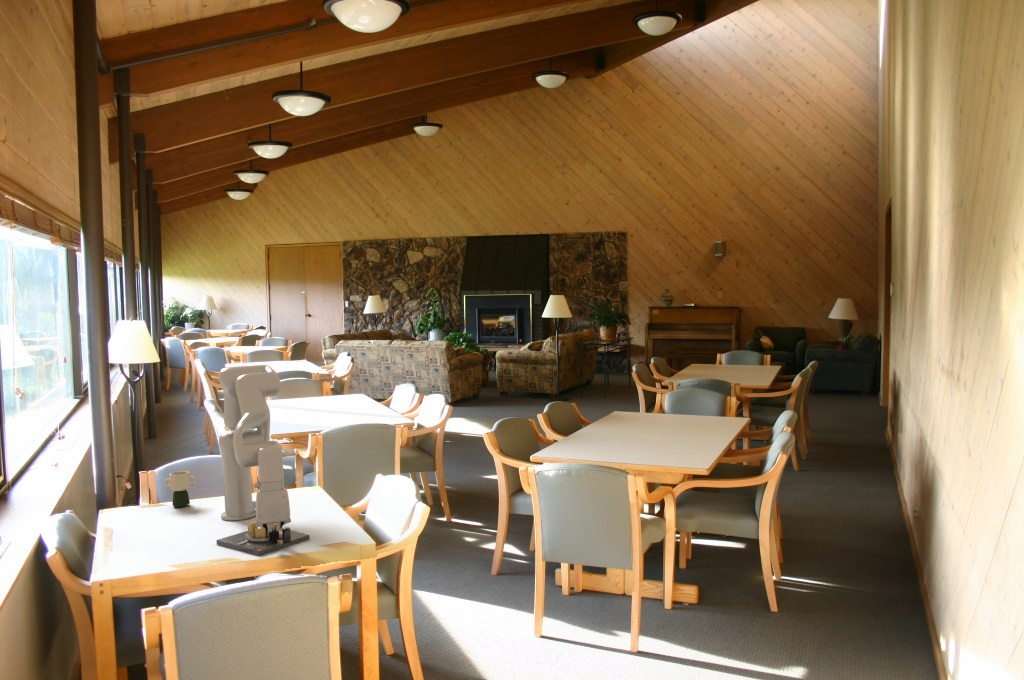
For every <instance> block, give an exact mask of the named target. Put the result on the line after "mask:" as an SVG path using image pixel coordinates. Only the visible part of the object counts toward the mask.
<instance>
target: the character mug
mask: <svg viewBox="0 0 1024 680" xmlns="http://www.w3.org/2000/svg"><path fill="white" fill-rule="evenodd" d="M190 480H191V481H192V482H191V481H190ZM168 482H169V483H168ZM194 485H196V477H195V476H193V475H192V476H191V475H190V471H187V470H179V471H178V470H177V471H173V472H171V473H169V478H164V487H165V488H170V490H171V491H173V494H172V506H173V507H176V508H177V507H178V508H179V507H186V506H187V505H190V504H191V501H190V497H189V493H188V489H190V487H191V486H194Z"/></svg>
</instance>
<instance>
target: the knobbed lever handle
mask: <svg viewBox="0 0 1024 680" xmlns="http://www.w3.org/2000/svg"><path fill="white" fill-rule="evenodd" d="M254 518H255V520H254V521H253V522H248V525H247V531H248V535H249V536H251V537H255V538H261V537H266V536H267V537H269V532H268V530H266V529H265V528H264V527H257V526H256V525H255V524H256V517H254ZM275 524H276V523H271V527H272V528H273V531H274V528H275ZM291 529H292V528H291V527H288V526H287V527H284V525H283V526H282V527H281V529H280V530H279V537H280V538H282V540H283V543H290V542H291V531H292V530H291Z"/></svg>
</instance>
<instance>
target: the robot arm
mask: <svg viewBox="0 0 1024 680" xmlns="http://www.w3.org/2000/svg"><path fill="white" fill-rule="evenodd" d="M218 381H219V384H220V388H222V390H223V397H224V398H223V399H224V400H223V423H224V426H225V427H226V428H227V429H228V430H227V431H224V432H223V433H221V434H220V436H219V437H218V447H219V451H220V452H219V453H220V455H221V456H220V457H221V463H222V475H223V490H224V491H223V492H224V493H223V495H224V510H225V511H224V512H222V513H221V514H220V518H221V519H222V520H224V521H243V520H248V519H251V518H256V524H255V525H256V526H257V527H264V528H265V529H266V530H268V532H269V541H271V542H272V544H274V542H275V544H277V540H279V530H280V529H281V527H282V526H283V527H284V525H287V524H289V523H291V522H292V520H291V505H290V498H289V493H288V488H286V487H285V478H284V474H285V473H284V458H283V455H284V454H283V447H282V445H281V444H280V443H279V442H278V441H277V440H270V433H271V432H270V431H271V430H270V429H271V411H270V407H269V405H268V403H267V400H266V398H269V397H270V398H271V397H276V396H279V394H280V393H281V390H282V384H281V380H280V377H279V375H278V373H277V372H276V371H275V369H273V368H272V367H271V366H270V365H267V364H257V365H256V364H255V365H242V366H229V367H223V368H222V369H220V371H219V374H218ZM253 467H257V470H258V471H257V473H258V481H257V482H255V483H253V488H254V489H258V490H257V491H256V497H255V500H254V501H253V490H252V471H251V468H253ZM271 523H276V524H275V528H274V531H273V528H272V527H271Z"/></svg>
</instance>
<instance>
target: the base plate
mask: <svg viewBox="0 0 1024 680" xmlns="http://www.w3.org/2000/svg"><path fill="white" fill-rule="evenodd" d="M310 539H311V538H310V534H307V533H304V532H299V531H294V530H291V542H290V543H283V540H282V538H280V537H279V540H277V544H275V542H274V544H272V542H271V541H269V537H267V536H266V537H261V538H255V537H251V536H249V535H248V530H246V531H245V530H244V531H243V532H240V533H239V532H238V533H236V534H231V535H229V536H225V537H222V538H219V539H216V541H215V542H216V545H217V544H218V545H217V546H220V545H221V547H224V548H228V549H231V550H236V551H239V552H241V553H242V552H243V553H246V554H249V555H252V556H253V555H254V556H258V557H260V556H264V555H266V554H270V553H272V552H274V551H278V550H281V549H286V548H287V547H290V546H293V545H297V544H300V543H302V542H306V541H309V540H310Z"/></svg>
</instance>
